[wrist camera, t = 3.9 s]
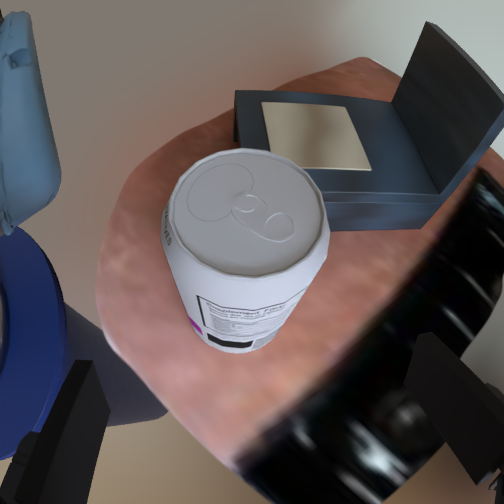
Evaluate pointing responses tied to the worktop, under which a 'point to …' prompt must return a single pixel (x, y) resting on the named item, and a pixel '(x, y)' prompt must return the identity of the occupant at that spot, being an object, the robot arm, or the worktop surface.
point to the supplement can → (243, 244)
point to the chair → (383, 137)
